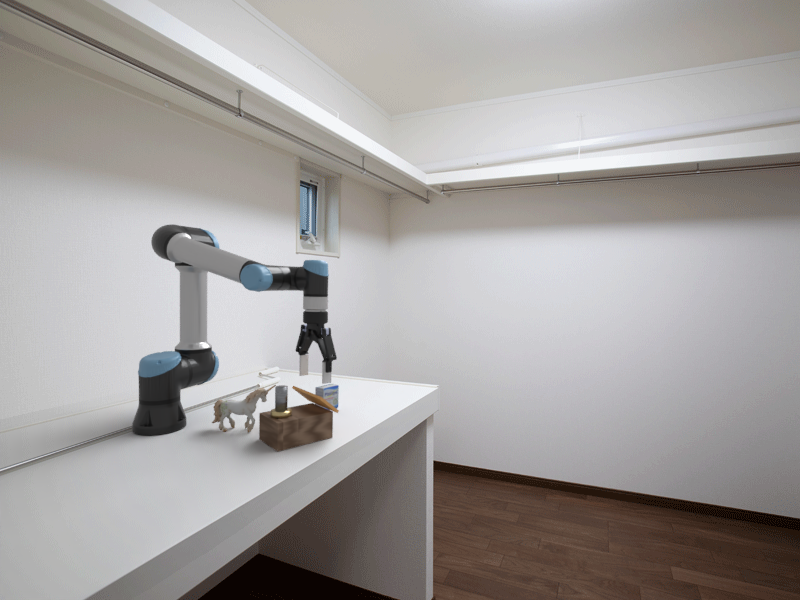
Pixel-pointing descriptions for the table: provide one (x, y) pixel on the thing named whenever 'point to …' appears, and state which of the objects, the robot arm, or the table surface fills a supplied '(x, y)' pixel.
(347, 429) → the table surface
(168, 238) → the robot arm
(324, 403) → the latch flap
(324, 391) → the medicine box
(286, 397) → the pin
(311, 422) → the block
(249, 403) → the unicorn figurine
